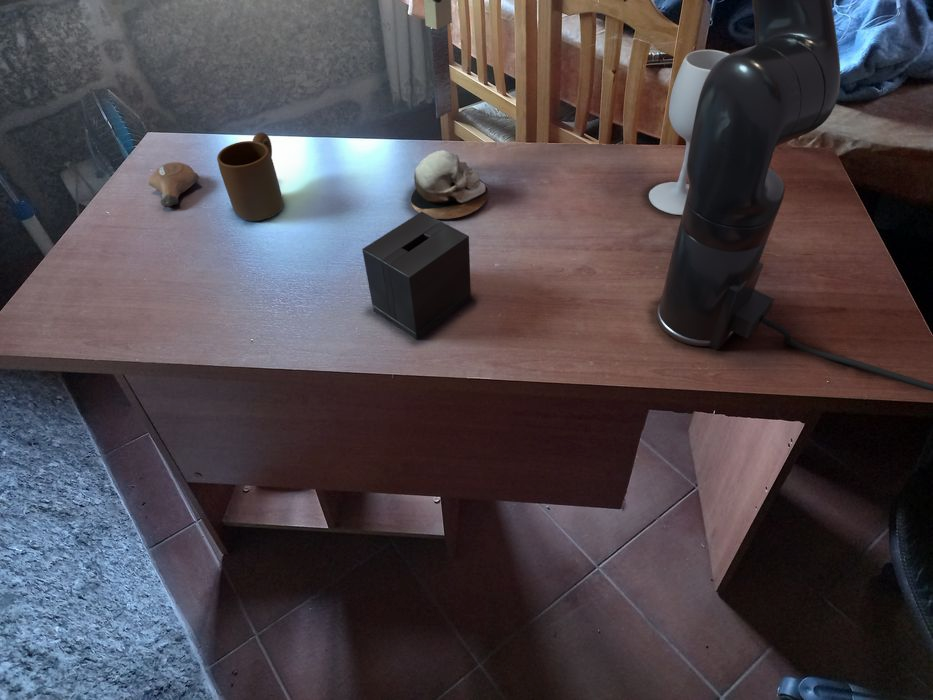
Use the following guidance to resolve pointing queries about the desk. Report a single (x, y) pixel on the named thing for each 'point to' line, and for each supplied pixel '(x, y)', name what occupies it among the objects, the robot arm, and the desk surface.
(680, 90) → the wineglass
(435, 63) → the knife
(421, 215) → the knife block
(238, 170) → the mug
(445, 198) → the skull
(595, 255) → the desk surface
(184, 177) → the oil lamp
